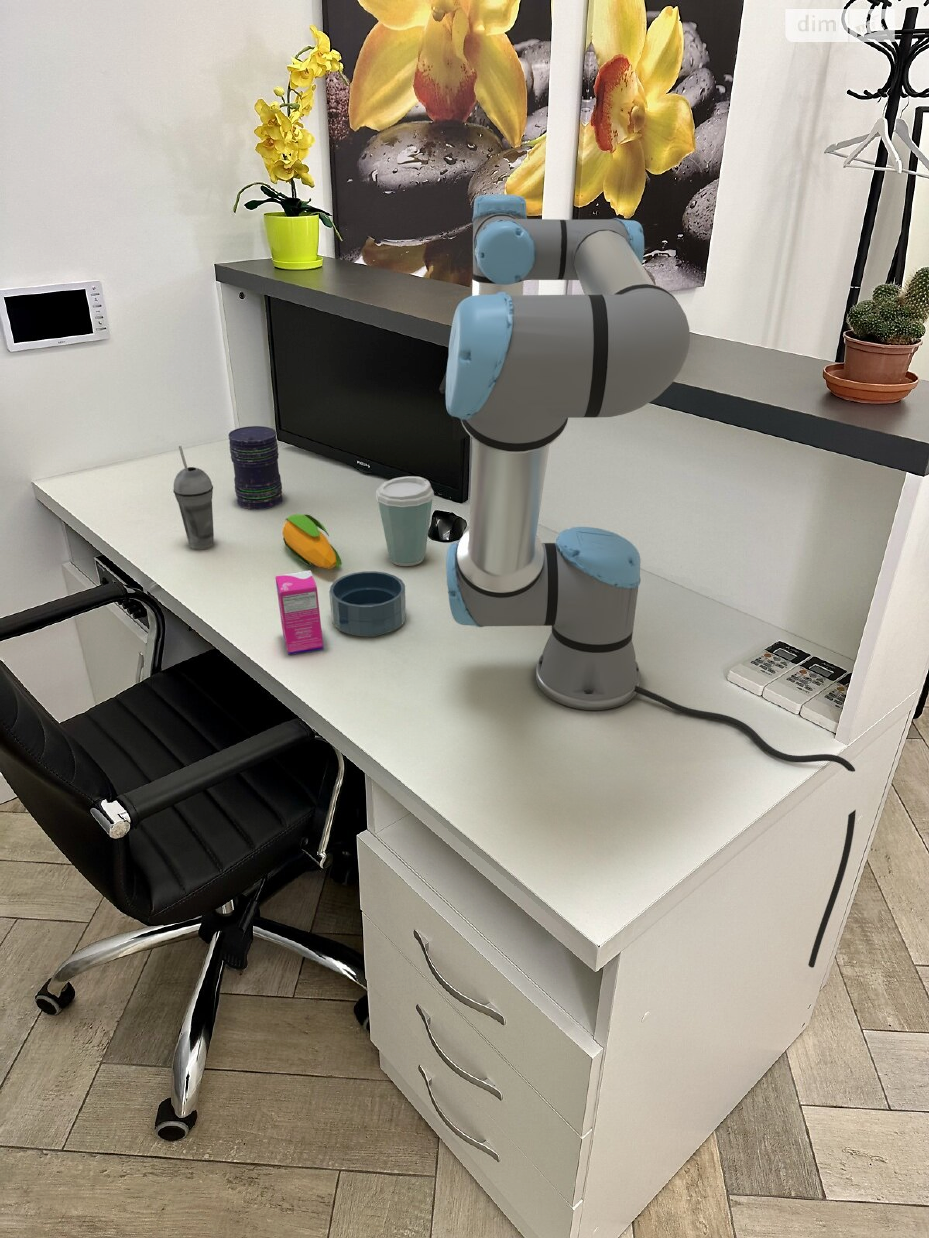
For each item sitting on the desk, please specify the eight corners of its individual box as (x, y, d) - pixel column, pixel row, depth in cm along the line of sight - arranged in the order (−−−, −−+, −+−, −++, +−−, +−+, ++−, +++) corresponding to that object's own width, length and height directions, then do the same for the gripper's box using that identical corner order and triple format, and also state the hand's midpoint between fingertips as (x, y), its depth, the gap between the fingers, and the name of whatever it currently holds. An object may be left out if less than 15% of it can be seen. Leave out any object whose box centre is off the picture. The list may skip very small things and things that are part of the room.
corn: (306, 500, 172) (351, 537, 157) (312, 535, 176) (356, 575, 161) (270, 510, 169) (313, 549, 154) (277, 546, 173) (319, 587, 158)
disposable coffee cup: (392, 576, 162) (389, 499, 154) (369, 553, 170) (365, 479, 162) (444, 564, 166) (444, 488, 158) (419, 542, 174) (417, 469, 167)
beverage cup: (223, 549, 171) (209, 449, 161) (184, 555, 168) (167, 454, 158) (218, 534, 177) (204, 437, 166) (180, 540, 174) (163, 441, 164)
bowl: (420, 623, 147) (419, 591, 144) (357, 647, 141) (355, 614, 138) (379, 595, 155) (378, 564, 152) (318, 616, 149) (315, 584, 146)
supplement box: (281, 637, 143) (274, 574, 137) (318, 632, 145) (312, 569, 139) (286, 656, 138) (279, 591, 132) (324, 650, 140) (319, 586, 134)
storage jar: (239, 492, 195) (231, 426, 188) (284, 491, 196) (278, 425, 189) (233, 510, 187) (224, 442, 179) (281, 509, 188) (274, 441, 180)
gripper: (583, 316, 128) (572, 457, 139) (446, 296, 141) (446, 425, 152) (555, 325, 123) (547, 470, 134) (416, 303, 136) (419, 437, 147)
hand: (493, 447), depth 143 cm, fingers open, 13 cm apart
